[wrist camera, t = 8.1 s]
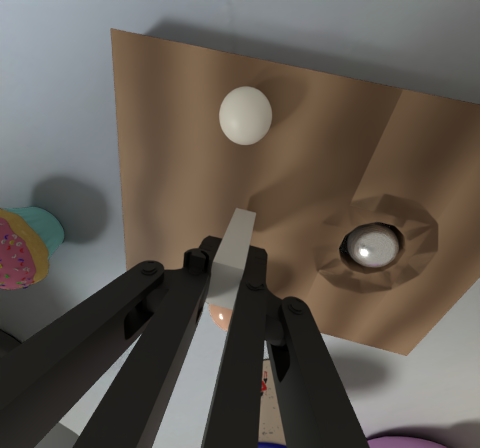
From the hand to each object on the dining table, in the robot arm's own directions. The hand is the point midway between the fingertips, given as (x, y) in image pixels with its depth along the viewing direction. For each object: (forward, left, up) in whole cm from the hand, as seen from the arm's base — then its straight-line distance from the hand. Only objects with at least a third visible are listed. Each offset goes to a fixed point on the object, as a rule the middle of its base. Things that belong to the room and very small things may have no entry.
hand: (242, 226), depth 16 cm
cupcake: (-21, -8, -4) cm, 23 cm away
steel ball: (+10, 0, -2) cm, 10 cm away
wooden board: (+4, 0, -4) cm, 5 cm away
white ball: (-1, +7, 0) cm, 7 cm away
